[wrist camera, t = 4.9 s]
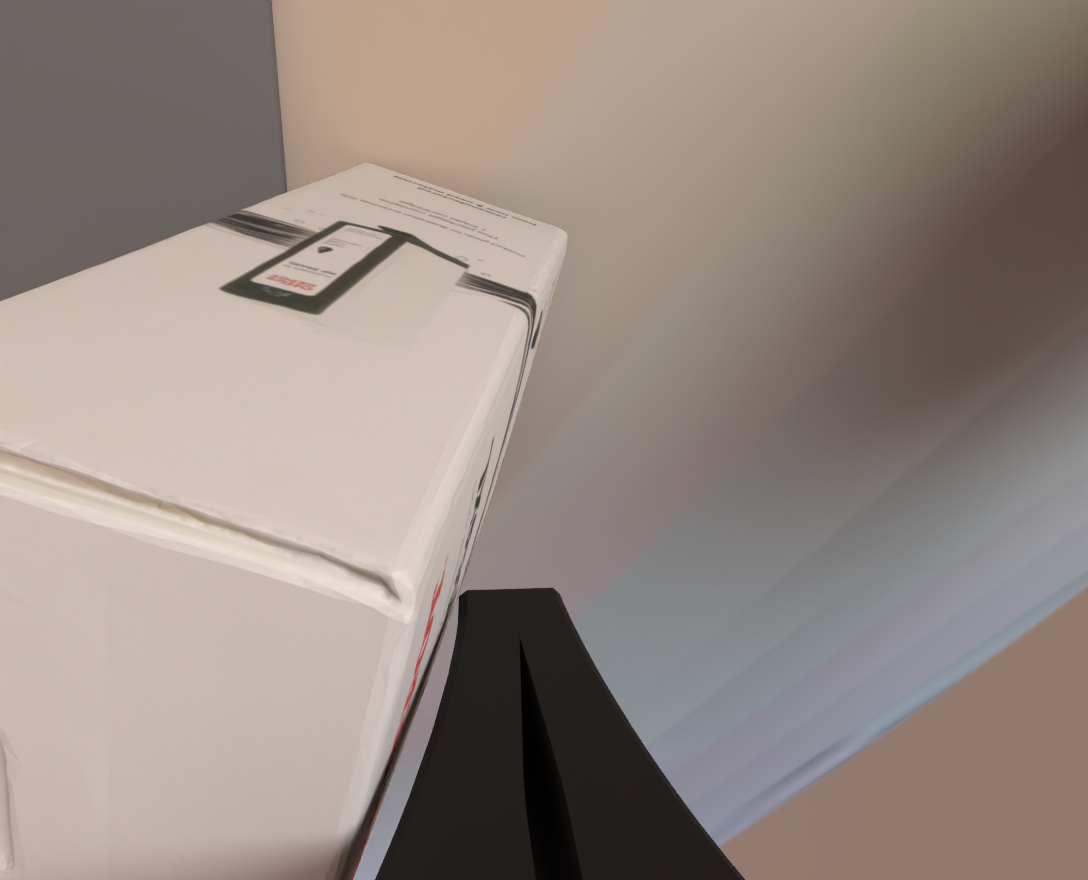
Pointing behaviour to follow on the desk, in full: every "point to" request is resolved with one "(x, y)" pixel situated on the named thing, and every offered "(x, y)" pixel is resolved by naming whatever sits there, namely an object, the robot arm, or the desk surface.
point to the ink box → (247, 522)
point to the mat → (129, 127)
